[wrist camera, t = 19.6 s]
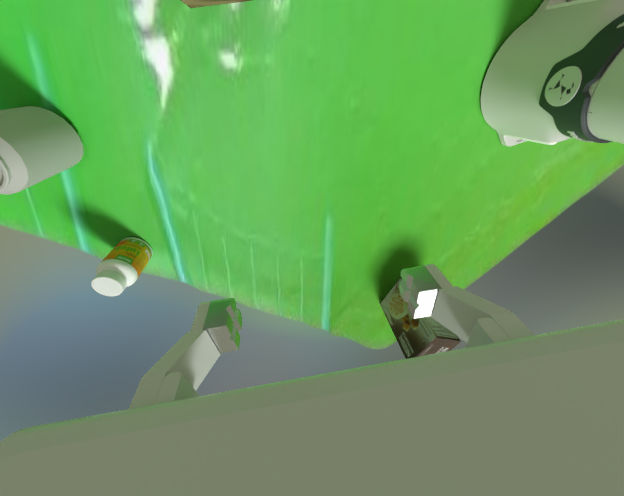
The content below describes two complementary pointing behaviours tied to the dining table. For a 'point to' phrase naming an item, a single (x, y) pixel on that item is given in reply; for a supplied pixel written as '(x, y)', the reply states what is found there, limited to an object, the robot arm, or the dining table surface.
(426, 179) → the dining table surface
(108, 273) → the supplement bottle
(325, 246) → the dining table surface
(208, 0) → the walnut block
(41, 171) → the can
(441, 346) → the coffee box
